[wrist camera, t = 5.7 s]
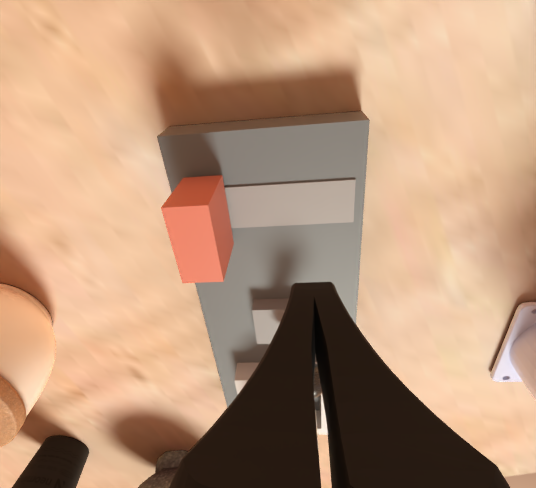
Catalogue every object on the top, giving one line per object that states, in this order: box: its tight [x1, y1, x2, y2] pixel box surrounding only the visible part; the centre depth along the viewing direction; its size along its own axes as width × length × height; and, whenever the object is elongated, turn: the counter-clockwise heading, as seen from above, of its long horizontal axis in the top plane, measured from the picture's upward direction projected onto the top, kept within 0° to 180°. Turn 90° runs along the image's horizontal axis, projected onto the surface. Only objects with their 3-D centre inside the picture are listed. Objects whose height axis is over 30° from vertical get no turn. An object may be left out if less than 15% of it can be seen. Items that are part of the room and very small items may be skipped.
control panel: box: [157, 111, 369, 434], centre depth 22 cm, size 10×24×4 cm, turn 5°
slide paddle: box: [161, 175, 234, 283], centre depth 16 cm, size 2×4×3 cm, turn 5°
